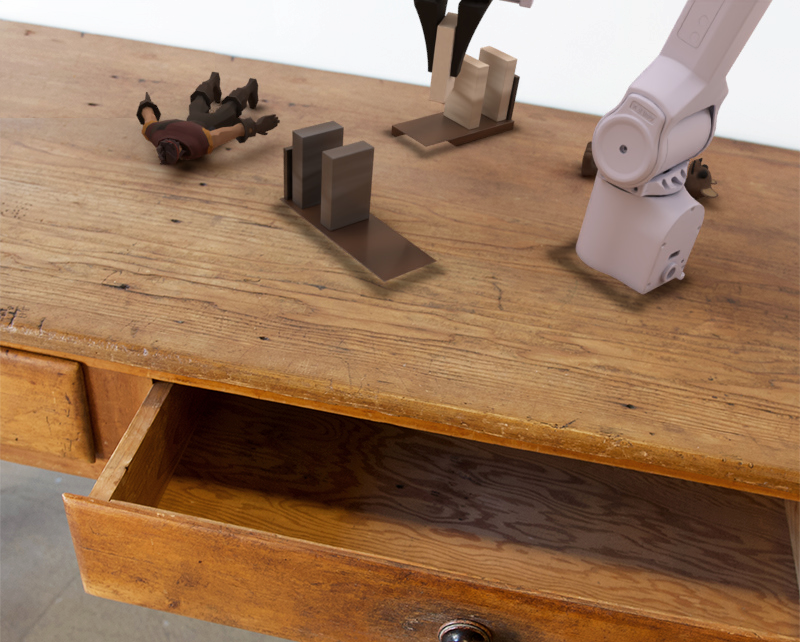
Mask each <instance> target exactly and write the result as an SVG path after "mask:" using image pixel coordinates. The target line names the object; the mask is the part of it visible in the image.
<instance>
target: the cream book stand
mask: <svg viewBox="0 0 800 642" xmlns="http://www.w3.org/2000/svg"><path fill="white" fill-rule="evenodd" d="M517 64H518V58H516V57H514V56H513V55H510V54H508V53H506V52H503V50H500V49H497V48H495V47H493V46H491V45H487V46H482V47H480V49H479V54H478V59H477V58H475V57H473V56H471V55H470V54H468V53H466V54H465V56H464V60H463V63H462V67H461V71H460V73H459V74H458V76H457V77H455V81H454V87H453V89H452V91H451V92H450V94H449V96H448V98H447V99H446V101H445V103H444V106H443V111H441V112H437V113H433V114H430V115H426V116H423V117H418V118H415V119H410V120H407V121H403V122H400V123H396V124H392V125H391V131H390V133H391V135H393V136H394V137H396V138H397V137H401V136H404V135H406V136H408V137H409V138H411V139H413V140H414V141H416V142H418V143H419V144H420V145H423V146H424V147H426V148H427V147H430V146H434V145H438V144H441V143H445V142H447V143H449V144H450V145H453V146H454V147H456V146H460V145H463V144H466V143H467V144H468V143H470V142H473V141H477V140H481V139H483V138H486V137H490V136H493V135H497V134H501V133H503V132H507V131H511V130H513V129H514V126H515V120H514V119H513V113H514V109H515V104H516V98H517V94H518V88H519V83H520V79H521V76H520V75H517V74H516V70H517Z"/></svg>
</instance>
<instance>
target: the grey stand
mask: <svg viewBox="0 0 800 642" xmlns="http://www.w3.org/2000/svg"><path fill="white" fill-rule="evenodd" d="M344 129H345V128H344V126H343V125H341V124H340V123H338V122H337V121H335V120H330V121H326V122H322V123H318V124H314V125H309V126H306V127H302V128H298V129H294V130H292V131H291V134H292V137H291V138H292V140H291V141H292V142H291V144H292V145H288V146H285V147H283V149H282V152H283V153H282V154H283V155H282V158H283V159H282V160H283V161H282V162H283V163H282V164H283V197H279V198H278V199H279V201H281V202H282V204H285V205H286V206H287V207H288V208H289V209H291V210H292V211H293V212H295V213H296V214H297V215H299V216H300V217H301V218H302V219H304V221H306V222H307V223H308V224H309V225H311V226H312V227H314V228H315V229H316V230H318V231H319V232H320V233H322V234H323V236H325V237H326V238H328V239H329V240H330V241H331V242H333V243H334V244H335V245H336V246H337V247H339V248H340V249H341V250H343V251H344V252H345V253H346V254H348V255H349V256H350V257H352V258H353V259H354V260H355V261H356V262H358V263H359V264H360V265H361V266H362V267H364V268H365V269H367V270H368V271H369V272H371V273H372V274H373V275H374V276H376V277H377V278H378V279H380V280H381V281H382V282H383V283H386V282H388V281H390V280H391V281H392V280H393V279H396V278H398V277H401V276H403V275H406V274H408V273H410V272H413V271H416V270H418V269H420V268H424V267H426V266H428V265H431V264H433V263H436V262H437V259H435V258H434V257H432V256H431V255H430V254H428V253H427V252H425V251H424V250H422V249H421V248H420V247H419V246H417V245H415V244H414V242H412V241H410V240H409V239H407V238H406V237H405V236H403V235H402V234H401V233H399V232H398V231H397V230H395V229H394V228H392V227H391V226H390V225H388V224H387V223H386V222H384V221H382V220H381V219H380V218H378V217H377V216H376V215H374V214H373V213H372V212H371V199H372V186H373V172H374V160H375V158H374V157H375V147H374V146H373V145H372V144H371V143H368V142H367V141H366V140H359V141H356V142H352V143H348V144H344V134H345V132H344V131H345V130H344Z"/></svg>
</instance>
